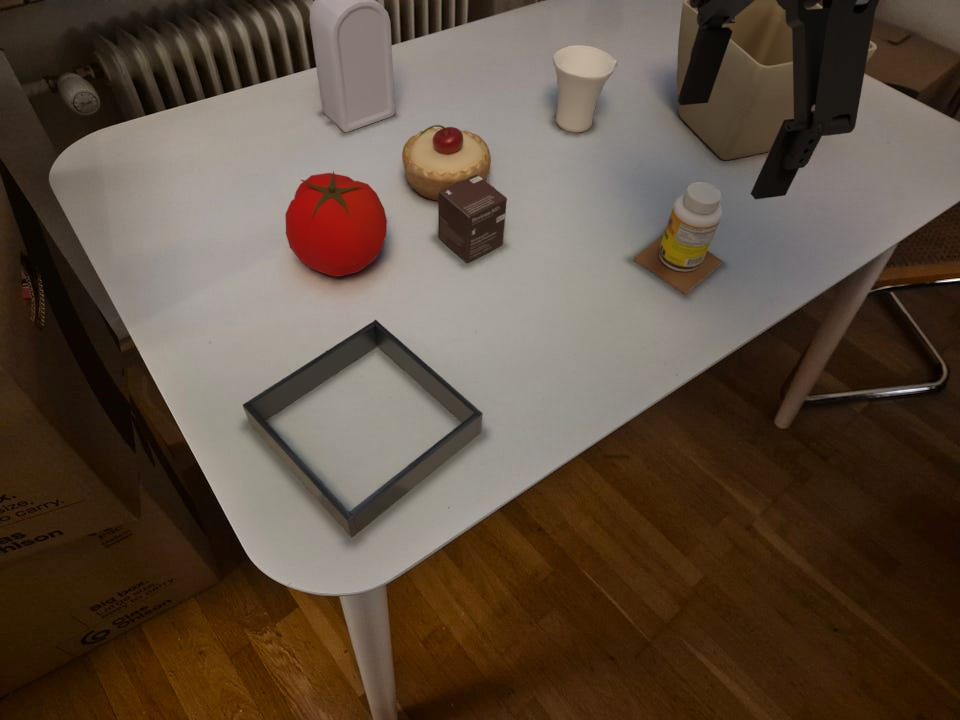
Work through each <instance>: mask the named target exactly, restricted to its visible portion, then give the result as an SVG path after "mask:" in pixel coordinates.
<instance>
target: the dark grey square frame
mask: <svg viewBox="0 0 960 720" xmlns="http://www.w3.org/2000/svg"><path fill="white" fill-rule="evenodd" d="M375 348H379V349H380V350H381V351H382V352H383V353H384V354H385V355H386V356H388V358H389V359H391V360H392V361H393V362H394V363H395V364H396V365H397V366H399V367H400V368H401V369H402V370H403V371H404V372H405V373H406V374H407V375H408V376H409V377H411V378H412V379H413V380H414V381H415V382H416V383H417V384H418V385H420V386H421V387H422V388H423V389H424V390H425V391H426V392H428V394H430V395H431V396H432V397H433V398H434V399H435V400H436V401H437V402H438V403H440V404H441V405H442V406H443V407H444V408H445V409H446V410H448V411H449V413H451V414H452V415H453V416H454V417H455V418H456V419H458V420H459V421H460V422H461V423H460V424H459V425H457V426H456V427H455V428H454V429H452V430H451V431H450V432H449V433H447V434H446V435H444V436H443V437H442V438H441V439H440V440H438V441H437V442H436V443H435V444H433V445H432V446H431V447H430V448H428V449H427V450H426V451H424V452H423V453H422V454H421V455H419V456H418V457H417V458H416V459H414V460H413V461H412V462H410V463H409V464H408V465H406V467H404V468H403V469H402V470H400V471H399V472H397V474H395V475H394V476H393V477H392V478H390V479H389V480H388V481H386V482H385V483H384V484H382V485H381V486H380V487H379V488H377V489H376V490H375V491H373V493H371V494H370V495H369V496H367V497H366V498H365V499H363V500H362V501H361V502H360V503H359V504H357V505H356V506H355V507H354V508H352V509H351V510H350V511H349V510H348V509H347V508H346V507H345V506H344V505H343V504H342V503H341V501H340V500H338V498H337V497H336V496H335V495H334V494H333V493H332V492H331V491H330V490H329V489H328V487H327V486H326V485H325V484H324V483H323V482H322V481H321V479H320V478H319V477H318V476H317V475H316V474H315V473H314V472H313V471H312V470H311V469H310V468H309V467H308V466H307V464H306V463H304V461H303V460H302V459H301V458H300V457H299V456H298V455H297V453H296V452H295V451H294V450H293V449H292V448H291V447H290V446H289V445H288V444H287V443H286V442H285V441H284V439H283V437H281V436H280V435H279V434H278V433H277V432H276V430H274V428H273V427H272V426H271V425H270V424H269V423H268V422H267V420H268V419H270V418H271V417H273V416H274V415H277V413H279V412H280V411H282V410H284V408H285V409H286V407H288V406H290V405H291V404H292V403H294V402H295V401H297V400H298V399H300V398H301V397H303V396H305V395H306V394H308V393H309V392H310V391H312V390H313V389H315V388H317V387H318V386H320V385H321V384H323V383H324V382H326V381H327V380H329V379H331V378H332V377H333V376H335V375H336V374H338V373H339V372H340V371H342V370H344V369H345V368H346V367H349V366H350V365H352V364H353V363H355V361H357V360H360V358H362V357H363V356H365V355H367V354H368V353H370V352H372V351H373V350H374V349H375ZM242 408H243V410H244V413H245V415H246V418H247V420H248V422H249V425H250V427H252V429H253V430H254V431H255V432H256V433H257V434H258V435H259V436H260V438H262V440H263V441H264V442H265V443H266V444H267V445H268V446H269V447H270V448H271V450H272V451H273V452H274V453H275V454H276V455H277V457H279V459H280V460H281V461H282V462H283V463H284V464H285V465H286V466H287V468H288V469H289V470H290V471H291V472H292V473H293V474H294V475H295V476H296V477H297V479H298V480H299V481H300V482H301V483H302V485H304V486H305V488H306V489H307V490H308V491H309V492H310V494H312V496H313V497H314V498H315V499H316V500H317V501H318V502H319V503H320V505H322V507H323V508H324V509H325V510H326V511H327V512H328V513H329V515H331V516H332V518H333V519H334V520H335V521H336V522H337V523H338V525H340V526H341V527H342V529H343V530H344V531H345V532H346V533H347V534H348V535H349V537H350V538H353V537H354V536H356V535H357V534H358V533H359V532H361V531H362V530H363V529H365V528H366V527H367V526H368V525H369V524H370V523H372V522H373V521H374V520H376V519H377V518H378V517H379V516H381V515H382V514H383V513H384V512H385V511H386V510H388V509H389V508H390V507H392V506H393V505H394V504H395V503H396V502H397V501H399V500H400V499H401V498H402V497H404V496H405V495H406V494H407V493H409V492H410V491H411V490H412V489H413V488H415V487H416V486H417V485H418V484H420V483H421V482H422V481H423V480H425V479H426V478H427V477H428V476H429V475H431V474H432V473H433V472H434V471H436V470H437V469H438V468H439V467H441V466H442V465H443V464H444V463H446V461H448V460H450V458H451V457H452V456H454V455H455V454H457V453H458V452H459V451H460V450H462V448H464V447H465V446H466V445H468V444H469V443H470V442H471V441H473V440H474V439H475V438H476V437H477V436H479V434H481V433H482V425H483V423H482V422H483V414H484V413H483V412H482V411H481V410H480V409H478V408H477V407H476V406H475V405H474V404H473V403H472V402H470V401H469V400H468V399H467V398H466V397H465V396H464V395H463V394H462V393H460V392H459V391H458V390H456V389H455V387H453V386H452V385H451V384H450V383H449V382H447V381H446V380H445V379H444V378H443V377H442V376H441V375H440V374H439V373H437V372H436V371H435V370H434V369H433V368H431V367H430V366H429V365H428V364H427V363H426V362H425V361H423V359H421V358H420V357H419V356H418V355H417V354H416V353H414V352H413V350H411V349H410V348H409V347H408V346H406V345H405V344H404V343H403V342H402V341H400V339H399V338H398V337H396V335H394V334H393V333H392V332H391V331H389V330H388V329H387V328H386V327H385V326H384V325H383V324H382V323H380V322H379V321H378V320H377V319H375V320H373V321H372V322H370V323H368V324H367V325H365V326H364V327H362V328H361V329H359V330H357V331H356V332H354V333H352V334H351V335H349V336H348V337H346V338H344V339H343V340H342V341H340V342H338V343H337V344H335V345H334V346H332V347H330V348H329V349H328V350H326V351H325V352H323V353H321V354H319V355H318V356H316V357H315V358H313V359H311V360H310V361H309V362H307V363H305V364H304V365H303V366H301V367H299V368H298V369H296V370H294V371H293V372H291V373H290V374H288V375H287V376H285V377H284V378H282V379H281V380H279V381H277V382H275V383H274V384H273V385H271V386H269V387H268V388H266V389H265V390H263V391H262V392H260V393H259V394H257V395H255V396H254V397H252V398H251V399H249V400H248V401H246V402H244V403H243V404H242Z"/></svg>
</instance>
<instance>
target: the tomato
mask: <svg viewBox="0 0 960 720" xmlns="http://www.w3.org/2000/svg"><path fill="white" fill-rule="evenodd" d="M300 182H301V183H300V184H299V185H298V187H297V188H296V190H295V192H294V198H293V199H292V200H291V201H290V202H289V205H288V207H287V209H286V211H285V236H286V239H287V242H288V243H287V244H288V245H289V248H290V250H291V251H292V252H293V253H294V254H295V257H297V258H298V260H300V261H301V262H302V263H304V264H305V265H306V266H307V267H309V268H311V269H313V270H314V271H317V272H319V273H322V274H326V275H328V276H331V277H344V276H348V275H351V274H354V273H358V272H360V271H362V270H363V269H364V268H366V267H367V266H368V265H370V264H371V263H372V262H373V261H374V260H375V259H376V258H377V256H379V253H380V252H381V250H382V248H383V245H384V242H385V239H386V238H387V229H388V225H387V224H388V220H387V215H386V209H385V207H384V205H383V203H382V202H381V199H380V197H379V196H378V193H377V191H375V190H374V189H373V188H372V187H371V185H370V184H368V183H367V182H364V181H363V182H362V181H360V180H354V179H353V178H351V177H350V176H348V175H343V174H338V173H335V170H333V171H332V172H325V173H319V174H312V175H310V176H309V177H308V178H306V179H305V180H304V179H300Z"/></svg>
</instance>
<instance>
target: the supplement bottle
mask: <svg viewBox="0 0 960 720" xmlns="http://www.w3.org/2000/svg"><path fill="white" fill-rule="evenodd" d="M722 198H723V194H722V191H721V190H720V189H719V188H718V187H717V186H716V185H714V184H711V183H710V182H705V181H695V182H692V183H690V184H689V185H688V186H687V188H686V191H685V193H684V194H682V195H680V196H679V197H677V199H676V200H675V201H674V204H673V205H672V206H673V207H672V209H671V213H670V215H669V218H668V221H667V224H666V227H665V229H664V233H663V234H662V236H663V238H662V241H661V244H660V247H659V257H660V259H661V261H662V262H663V263H664V264H665V265H666V266H667V267H669V268H671V269H673V270H676V271H681V272H688V271H692V270H695V269H697V268H698V267H699V266H700V265H701V264H702V262H703V260H704V257H705V255H706V252H707V251H708V250H709V248H710V245H711V243H712V242H713V238H714V236H715V234H716V231H717V229H718V226H719V224H720V222H721V219H722V217H723V209H722V207H721V205H720V203H721V201H722Z"/></svg>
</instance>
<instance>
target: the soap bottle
mask: <svg viewBox="0 0 960 720" xmlns="http://www.w3.org/2000/svg"><path fill="white" fill-rule="evenodd" d="M309 28H310V34H311V39H312V45H313V46H312V48H313V54H314V61H315V67H316V74H317V81H318V88H319V95H320V103H321V109H322V112H323V113H324V114H325V116H327V117H328V118H329V119H330V120H331V121H332V122H333V123H334V124H335V125H336V126H337V127H338V128H339V129H340V130H341V131H342V132H343V133H349V132H351V131H354V130H357V129H360V128H364V127H365V126H369V125H371V124H374V123H377V122H380V121H383V120H385V119H388V118H391V117H393V116H394V115H395V113H396V107H395V106H396V104H395V103H396V102H395V85H394V84H395V83H394V64H393V62H394V61H393V46H392V27H391V19H390V16H389V12H388V11H387V9H385V7H384V6H383V5H382V4H381V3H379V2H378V1H377V0H314V1H313V2H312V5H311V7H310V8H309Z"/></svg>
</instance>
